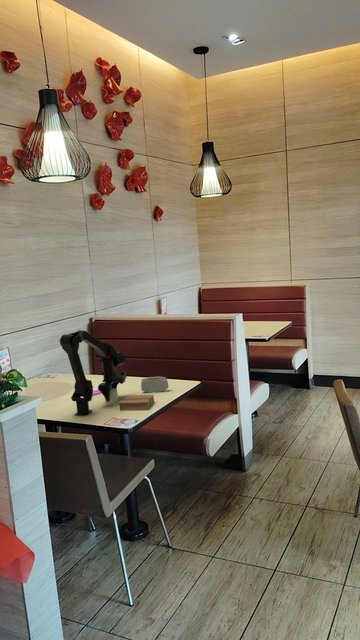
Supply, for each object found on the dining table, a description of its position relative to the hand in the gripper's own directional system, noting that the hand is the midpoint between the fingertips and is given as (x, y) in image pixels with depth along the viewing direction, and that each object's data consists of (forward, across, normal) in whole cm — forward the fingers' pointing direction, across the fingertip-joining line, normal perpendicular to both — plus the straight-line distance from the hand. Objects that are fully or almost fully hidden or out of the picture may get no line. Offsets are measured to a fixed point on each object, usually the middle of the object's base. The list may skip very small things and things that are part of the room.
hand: (111, 398), depth 262 cm
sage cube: (+1, 0, 0) cm, 1 cm away
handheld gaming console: (+2, +15, -19) cm, 24 cm away
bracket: (+2, +14, +14) cm, 20 cm away
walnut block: (+2, -8, -16) cm, 18 cm away
